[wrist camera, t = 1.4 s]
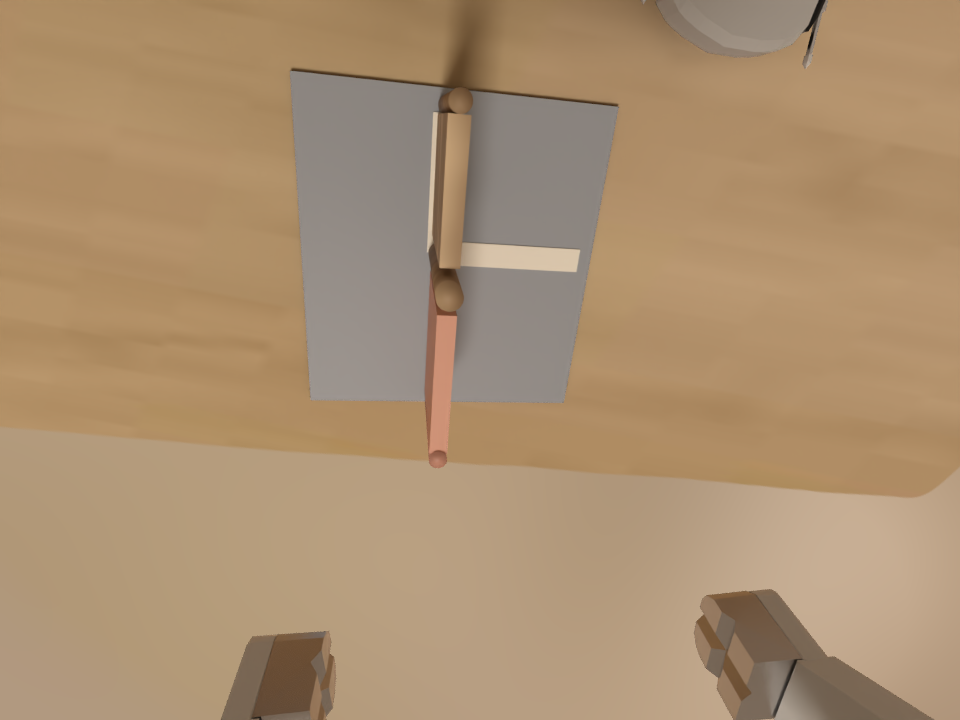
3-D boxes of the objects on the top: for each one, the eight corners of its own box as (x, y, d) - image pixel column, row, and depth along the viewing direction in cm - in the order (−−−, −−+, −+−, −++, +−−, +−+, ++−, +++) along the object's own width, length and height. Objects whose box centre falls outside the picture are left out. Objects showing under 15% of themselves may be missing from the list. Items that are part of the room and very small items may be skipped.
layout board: (311, 398, 42) (310, 400, 42) (290, 71, 32) (289, 70, 31) (562, 401, 45) (563, 403, 45) (617, 106, 35) (619, 106, 35)
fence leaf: (423, 395, 43) (428, 468, 34) (430, 270, 38) (437, 316, 29) (437, 395, 43) (446, 467, 34) (445, 271, 38) (457, 317, 30)
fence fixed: (427, 261, 38) (434, 311, 28) (435, 93, 33) (447, 83, 24) (448, 262, 38) (462, 312, 29) (459, 96, 34) (480, 87, 24)
